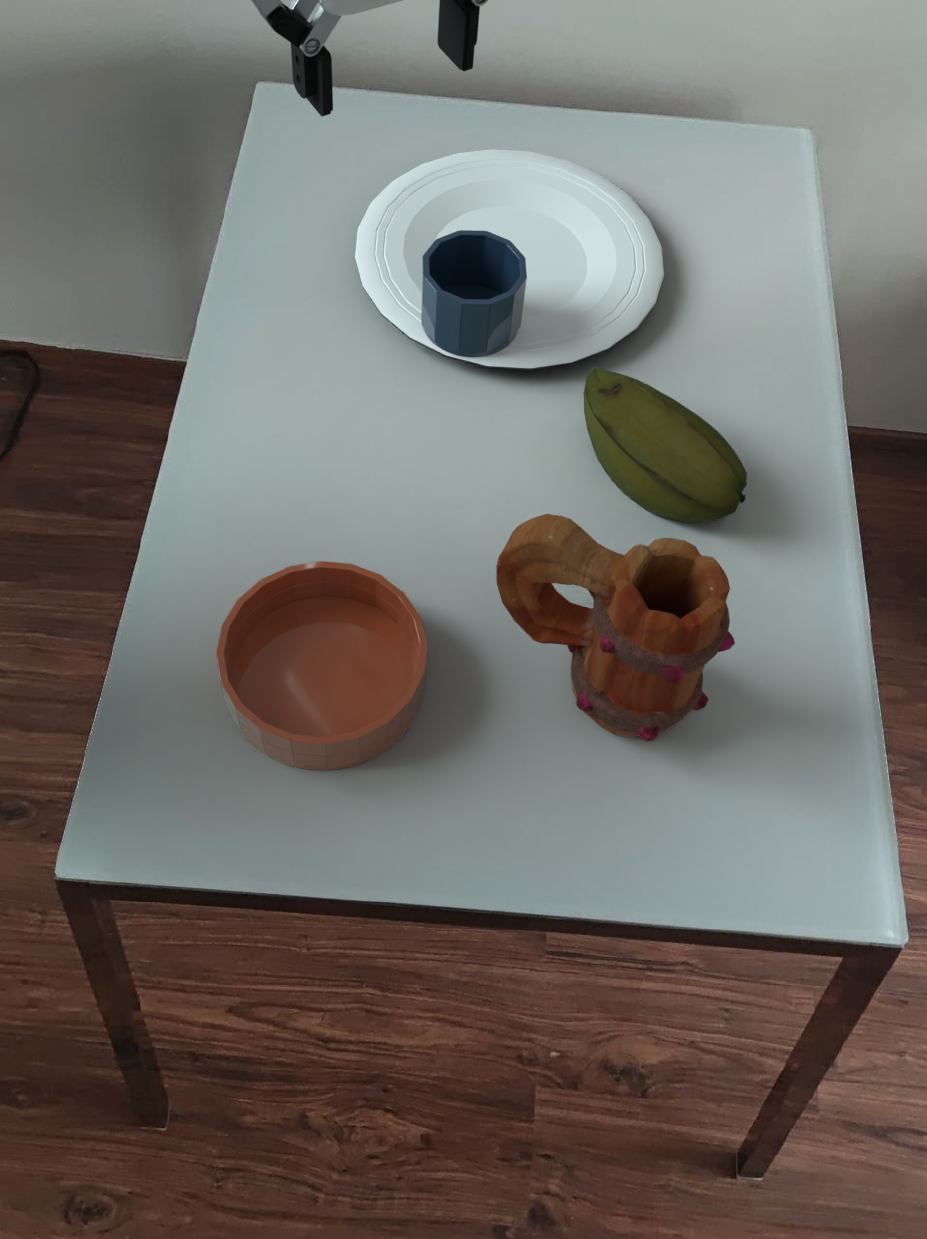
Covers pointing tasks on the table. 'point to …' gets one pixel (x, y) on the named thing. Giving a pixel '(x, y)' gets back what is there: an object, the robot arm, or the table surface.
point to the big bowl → (323, 665)
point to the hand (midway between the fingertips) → (386, 79)
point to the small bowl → (472, 292)
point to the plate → (540, 229)
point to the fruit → (661, 450)
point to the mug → (620, 620)
